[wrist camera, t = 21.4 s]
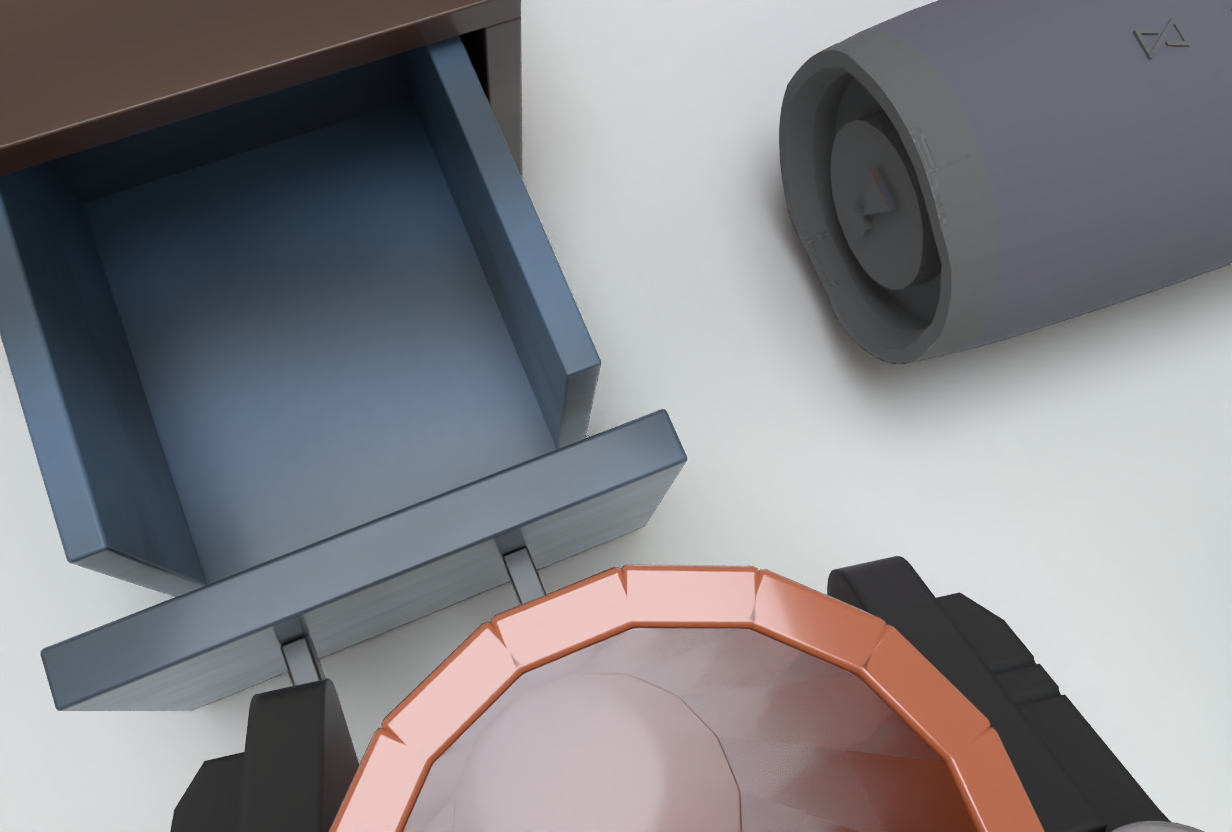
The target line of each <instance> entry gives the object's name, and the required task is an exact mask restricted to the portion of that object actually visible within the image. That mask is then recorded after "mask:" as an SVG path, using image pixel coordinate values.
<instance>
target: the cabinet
mask: <svg viewBox="0 0 1232 832" xmlns="http://www.w3.org/2000/svg"><path fill="white" fill-rule="evenodd" d="M458 35H460V38H461V40H462V42H463V44H464V47H465V49H466V51H467V54H468V56H469V58H470V61H471V63H472V65H473V68H474V70H475V72H476V74H477V77H478V79H479V81H480V84H481V86H482V88H483V91H484V93H485V95H486V98H487V100H488V102H489V104H490V107H491V109H492V111H493V114H494V116H495V118H496V121H497V123H498V125H499V127H500V130H501V132H502V134H503V137H504V139H505V141H506V144H507V146H508V148H509V151H510V153H511V155H512V157H513V160H514V162H515V164H516V167H517V169H518V171H519V174H520V176H521V178H522V82H521V0H0V176H2V175H5V174H8V173H12V172H15V171H18V170H22V169H25V168H28V167H31V166H35V165H38V164H41V163H44V162H48V161H51V160H54V159H57V158H61V157H64V156H67V155H70V154H74V153H77V152H80V151H83V150H87V149H90V148H93V147H96V146H100V145H103V144H106V143H110V142H113V141H116V140H119V139H123V138H126V137H129V136H132V135H136V134H139V133H142V132H145V131H149V130H152V129H155V128H158V127H162V126H165V125H168V124H171V123H175V122H178V121H181V120H185V119H188V118H191V117H194V116H198V115H201V114H204V113H207V112H211V111H214V110H217V109H220V108H224V107H227V106H230V105H233V104H237V103H240V102H243V101H246V100H250V99H253V98H256V97H259V96H263V95H266V94H269V93H273V92H276V91H279V90H282V89H286V88H289V87H292V86H295V85H299V84H302V83H305V82H308V81H312V80H315V79H318V78H321V77H325V76H328V75H331V74H334V73H338V72H341V71H344V70H347V69H351V68H354V67H357V66H361V65H364V64H367V63H370V62H374V61H377V60H380V59H383V58H387V57H390V56H393V55H396V54H400V53H403V52H406V51H409V50H413V49H416V48H419V47H422V46H426V45H429V44H432V43H435V42H439V41H442V40H445V39H449V38H452V37H455V36H458Z"/></svg>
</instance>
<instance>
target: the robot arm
mask: <svg viewBox="0 0 1232 832" xmlns="http://www.w3.org/2000/svg"><path fill="white" fill-rule="evenodd" d="M827 595H828V596H830V597H833V598H835V599H837V600H840V601H842V602H844V603H847V604H849V605H851V606H854V607H856V608H858V609H861V610H863V611H865V612H868V613H870V614H872V615H875V616H877V617H879V618H881V619H882V620H883V621H885V622H886V625H888V624H889V625H891V626H893V627H895V628H896V629H897V630H898V631H899V632H900V633H901V634H902V635H903V636H904V637H905V638H906V639H907V640H908V641H909V642H910V643H911V644H912V645H913V646H914V647H915V648H916V649H917V650H918V651H919V652H920V653H921V654H922V655H923V656H924V657H925V658H926V659H927V660H928V661H929V662H930V663H931V664H932V665H933V666H934V667H936V668H937V669H938V670H939V671H940V672H941V673H942V674H943V675H944V676H945V677H946V678H947V679H948V680H949V681H950V682H951V683H952V684H953V685H954V686H955V687H956V688H957V689H958V690H959V691H960V692H961V693H962V694H963V695H964V696H965V697H966V698H967V699H968V700H969V701H970V702H971V703H972V704H973V705H974V706H975V707H976V708H977V709H978V710H979V711H980V712H981V713H982V714H984V715H985V716H986V717H987V719H988V720H989V722H990V727H993V728H994V729H995V730H996V731H997V733H998V735H999V737H1000V739H1001V741H1002V743H1003V746H1004V748H1005V750H1006V752H1007V754H1008V756H1009V758H1010V760H1011V762H1012V764H1013V766H1014V769H1015V771H1016V773H1017V775H1018V777H1019V779H1020V781H1021V783H1022V785H1023V787H1024V789H1025V792H1026V794H1027V796H1028V798H1029V800H1030V802H1031V804H1032V806H1033V808H1034V810H1035V813H1036V815H1037V817H1038V819H1039V821H1040V823H1041V825H1042V827H1043V829H1044V831H1045V832H1204V831H1202V830H1199V829H1196V828H1194V827H1190V826H1186V825H1182V824H1179V823H1173V822H1171V821H1170V820H1169V819H1168V818H1167V817H1166V816H1165V815H1164V814H1163V813H1162V812H1161V811H1160V810H1159V809H1158V807H1157V806H1156V805H1155V804H1154V803H1153V801H1152V800H1151V799H1150V798H1149V796H1148V795H1147V794H1146V793H1145V792H1144V790H1143V789H1142V788H1141V787H1140V785H1139V784H1138V783H1137V782H1136V781H1135V779H1134V778H1133V777H1132V776H1131V774H1130V773H1129V772H1128V771H1127V770H1126V768H1125V767H1124V766H1123V765H1122V764H1121V762H1120V761H1119V760H1118V759H1117V757H1116V756H1115V755H1114V754H1113V753H1112V751H1111V750H1110V749H1109V748H1108V746H1107V745H1106V744H1105V743H1104V742H1103V740H1102V739H1101V738H1100V737H1099V735H1098V734H1097V733H1096V732H1095V731H1094V729H1093V728H1092V727H1091V726H1090V724H1089V723H1088V722H1087V721H1086V720H1085V718H1084V717H1083V716H1082V715H1081V714H1080V712H1079V711H1078V710H1077V709H1076V707H1075V706H1074V705H1073V704H1072V703H1071V701H1070V700H1069V699H1068V698H1067V696H1066V695H1061V694H1060V692H1059V687H1058V685H1057V684H1056V683H1055V682H1054V681H1053V679H1052V678H1051V677H1050V676H1049V674H1048V673H1047V672H1046V671H1045V670H1044V668H1043V667H1042V666H1041V665H1040V664H1037V665H1036V663H1035V661H1034V656H1033V655H1032V654H1031V653H1030V651H1029V650H1028V649H1027V648H1026V646H1025V645H1024V644H1023V643H1022V642H1021V640H1020V639H1019V638H1018V637H1017V635H1016V634H1015V633H1014V632H1013V631H1012V629H1011V628H1010V627H1009V626H1008V624H1007V623H1006V622H1005V621H1004V620H1003V619H1001V618H1000V617H998V616H997V615H995V614H993V613H992V612H990V611H989V610H987V609H985V608H984V607H982V606H981V605H979V604H977V603H976V602H974V601H973V600H971V599H969V598H968V597H966V596H964V595H963V594H961V593H956V594H951V595H947V596H942V597H938V598H935V596H934V595H933V594H932V592H931V591H930V590H929V588H928V587H927V586H926V584H925V583H924V582H923V580H922V579H921V578H920V577H919V575H918V574H917V573H916V571H915V570H914V569H913V567H912V566H911V565H910V564H909V562H908V561H907V560H905V559H904V558H903V557H900V556H895V557H890V558H886V559H881V560H876V561H872V562H867V563H863V564H858V565H853V566H849V567H844V568H840V569H835V570H833V571H831V573H830V575H829V578H828V586H827ZM358 767H359V763H358V760H357V756H356V753H355V750H354V747H353V743H352V740H351V737H350V734H349V731H348V727H347V724H346V721H345V718H344V714H343V711H342V708H341V705H340V701H339V698H338V695H337V692H336V689H335V687H334V684H333V682H332V681H331V680H330V679H324V680H319V681H315V682H310V683H306V684H301V685H296V686H292V687H287V688H283V689H278V690H273V691H269V692H264V693H260V694H255V695H254V696H253V698H252V700H251V703H250V709H249V718H248V727H247V735H246V744H245V752H243V753H238V754H234V755H229V756H225V757H221V758H216V759H212V760H207V761H204V763H203V764H202V766H201V768H200V769H199V771H198V772H197V774H196V776H195V777H194V779H193V781H192V782H191V784H190V785H189V787H188V789H187V790H186V792H185V793H184V795H183V797H182V798H181V800H180V801H179V803H178V805H177V806H176V808H175V809H174V814H173V820H172V826H171V831H170V832H329V829H330V827H331V825H332V823H333V821H334V819H335V817H336V814H337V812H338V810H339V808H340V806H341V804H342V801H343V799H344V797H345V795H346V793H347V791H348V788H349V786H350V784H351V782H352V780H353V778H354V775H355V773H356V771H357V769H358Z"/></svg>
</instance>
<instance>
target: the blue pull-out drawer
mask: <svg viewBox="0 0 1232 832" xmlns="http://www.w3.org/2000/svg"><path fill="white" fill-rule="evenodd" d="M0 335H1V338H2V342H3V345H4V348H5V352H6V355H7V359H8V362H9V365H10V369H11V372H12V375H13V379H14V382H15V386H16V389H17V392H18V396H19V399H20V403H21V406H22V409H23V413H24V416H25V419H26V423H27V426H28V430H29V433H30V436H31V440H32V443H33V447H34V450H35V453H36V457H37V460H38V463H39V467H40V470H41V474H42V477H43V480H44V484H45V487H46V491H47V494H48V497H49V501H50V504H51V507H52V511H53V514H54V518H55V521H56V524H57V528H58V531H59V535H60V538H61V541H62V545H63V548H64V551H65V555H66V558H67V561H68V562H69V563H72V564H75V565H78V566H81V567H84V568H87V569H91V570H94V571H97V572H100V573H103V574H106V575H109V576H112V577H115V578H119V579H122V580H125V581H128V582H131V583H134V584H137V585H140V586H143V587H146V588H150V589H153V590H156V591H159V592H162V593H165V594H168V595H171V596H174V597H175V598H173V599H170V600H168V601H165V602H162V603H160V604H157V605H155V606H152V607H149V608H147V609H144V610H142V611H139V612H137V613H134V614H131V615H129V616H126V617H124V618H121V619H118V620H116V621H113V622H111V623H108V624H106V625H103V626H100V627H98V628H95V629H93V630H90V631H87V632H85V633H82V634H80V635H77V636H75V637H72V638H69V639H67V640H64V641H62V642H59V643H56V644H54V645H51V646H49V647H46V648H44V649H43V650H42V651H41V657H42V661H43V664H44V668H45V671H46V675H47V679H48V682H49V686H50V689H51V693H52V696H53V700H54V703H55V707H56V709H57V710H58V711H191V710H195V709H197V708H200V707H202V706H205V705H207V704H210V703H212V702H214V701H217V700H219V699H222V698H224V697H227V696H229V695H232V694H234V693H237V692H239V691H241V690H244V689H246V688H249V687H251V686H254V685H256V684H259V683H261V682H264V681H266V680H268V679H271V678H273V677H276V676H278V675H281V674H283V673H286V672H288V673H289V676H290V679H291V682H292V685H293V686H296V685H301V684H306V683H310V682H315V681H319V680H324V679H326V678H325V675H324V672H323V670H322V667H321V664H320V661H319V659H320V658H322V657H325V656H327V655H330V654H332V653H335V652H337V651H340V650H342V649H345V648H347V647H349V646H352V645H354V644H357V643H359V642H362V641H364V640H367V639H369V638H372V637H374V636H376V635H379V634H381V633H384V632H386V631H389V630H391V629H394V628H396V627H399V626H401V625H403V624H406V623H408V622H411V621H413V620H416V619H418V618H421V617H423V616H426V615H428V614H430V613H433V612H435V611H438V610H440V609H443V608H445V607H448V606H450V605H453V604H455V603H457V602H460V601H462V600H465V599H467V598H470V597H472V596H475V595H477V594H480V593H482V592H484V591H487V590H489V589H492V588H494V587H497V586H499V585H502V584H504V583H507V582H509V581H511V583H512V586H513V588H514V591H515V594H516V596H517V599H518V601H519V604H520V605H522V604H524V603H527V602H529V601H532V600H534V599H537V598H539V597H541V596H544V595H546V592H545V589H544V587H543V584H542V582H541V579H540V577H539V574H538V572H537V570H538V569H541V568H543V567H546V566H548V565H551V564H553V563H556V562H558V561H561V560H563V559H565V558H568V557H570V556H573V555H575V554H578V553H580V552H583V551H585V550H588V549H590V548H592V547H595V546H597V545H600V544H602V543H605V542H607V541H610V540H612V539H615V538H617V537H619V536H622V535H624V534H627V533H629V532H632V531H634V530H637V529H639V528H642V527H644V526H645V525H646V523H647V522H648V520H649V519H650V517H651V516H652V514H653V513H654V511H655V509H656V508H657V506H658V505H659V503H660V502H661V500H662V499H663V497H664V495H665V494H666V492H667V491H668V489H669V488H670V486H671V485H672V483H673V481H674V480H675V478H676V477H677V475H678V474H679V472H680V471H681V469H682V467H683V466H684V464H685V463H686V461H687V456H686V454H685V451H684V449H683V447H682V445H681V442H680V440H679V438H678V436H677V433H676V431H675V429H674V427H673V424H672V422H671V420H670V418H669V415H668V413H667V411H666V410H665V409H661V410H658V411H656V412H653V413H651V414H648V415H645V416H643V417H640V418H638V419H635V420H633V421H630V422H627V423H625V424H622V425H620V426H617V427H614V428H612V429H609V430H607V431H604V432H602V433H599V434H596V435H594V436H591V437H589V438H586V439H585V436H586V431H587V427H588V422H589V417H590V413H591V408H592V403H593V399H594V394H595V389H596V385H597V380H598V375H599V371H600V366H601V360H600V358H599V356H598V353H597V351H596V349H595V347H594V344H593V342H592V340H591V337H590V335H589V333H588V330H587V328H586V326H585V323H584V321H583V319H582V317H581V314H580V312H579V310H578V307H577V305H576V303H575V300H574V298H573V296H572V293H571V291H570V289H569V287H568V284H567V282H566V280H565V277H564V275H563V273H562V270H561V268H560V266H559V264H558V261H557V259H556V257H555V254H554V252H553V250H552V247H551V245H550V243H549V240H548V238H547V236H546V234H545V231H544V229H543V227H542V224H541V222H540V220H539V217H538V215H537V213H536V210H535V208H534V206H533V204H532V201H531V199H530V197H529V194H528V192H527V190H526V187H525V185H524V183H523V181H522V178H521V176H520V174H519V171H518V169H517V167H516V164H515V162H514V160H513V157H512V155H511V153H510V151H509V148H508V146H507V144H506V141H505V139H504V137H503V134H502V132H501V130H500V127H499V125H498V123H497V121H496V118H495V116H494V114H493V111H492V109H491V107H490V104H489V102H488V100H487V98H486V95H485V93H484V91H483V88H482V86H481V84H480V81H479V79H478V77H477V74H476V72H475V70H474V68H473V65H472V63H471V61H470V58H469V56H468V54H467V51H466V49H465V47H464V44H463V42H462V40H461V38H460V35H458V36H455V37H452V38H449V39H445V40H442V41H439V42H435V43H432V44H429V45H426V46H422V47H419V48H416V49H413V50H409V51H406V52H403V53H400V54H396V55H393V56H390V57H387V58H383V59H380V60H377V61H374V62H370V63H367V64H364V65H361V66H357V67H354V68H351V69H347V70H344V71H341V72H338V73H334V74H331V75H328V76H325V77H321V78H318V79H315V80H312V81H308V82H305V83H302V84H299V85H295V86H292V87H289V88H286V89H282V90H279V91H276V92H273V93H269V94H266V95H263V96H259V97H256V98H253V99H250V100H246V101H243V102H240V103H237V104H233V105H230V106H227V107H224V108H220V109H217V110H214V111H211V112H207V113H204V114H201V115H198V116H194V117H191V118H188V119H185V120H181V121H178V122H175V123H171V124H168V125H165V126H162V127H158V128H155V129H152V130H149V131H145V132H142V133H139V134H136V135H132V136H129V137H126V138H123V139H119V140H116V141H113V142H110V143H106V144H103V145H100V146H96V147H93V148H90V149H87V150H83V151H80V152H77V153H74V154H70V155H67V156H64V157H61V158H57V159H54V160H51V161H48V162H44V163H41V164H38V165H35V166H31V167H28V168H25V169H22V170H18V171H15V172H12V173H8V174H5V175H2V176H0Z"/></svg>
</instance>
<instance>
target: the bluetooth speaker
mask: <svg viewBox="0 0 1232 832" xmlns="http://www.w3.org/2000/svg"><path fill="white" fill-rule="evenodd" d="M779 147H780V164H781V173H782V180H783V187H784V192H785V197H786V202H787V207H788V210H789V213H790V217H791V220H792V223H793V226H794V228H795V230H796V232H797V234H798V236H799V238H800V240H801V242H802V244H803V246H804V248H805V250H806V252H807V254H808V256H809V258H810V260H811V262H812V265H813V267H814V269H815V271H816V273H817V275H818V277H819V280H820V282H821V284H822V286H823V288H824V290H825V292H826V295H827V297H828V299H829V302H830V304H831V306H832V309H833V311H834V313H835V315H836V317H837V319H838V321H839V322H840V324H841V325H842V326H843V328H844V329H845V331H846V332H847V333H848V335H849V336H850V337H851V338H852V339H853V340H854V341H855V342H856V343H857V344H858V345H859V346H861V347H862V348H863V349H864V350H866V351H867V352H868V353H870V354H871V355H873V356H875V357H877V358H878V359H880V360H883V361H886V362H889V363H893V364H905V363H910V362H915V361H920V360H925V359H929V358H934V357H939V356H943V355H946V354H951V353H955V352H960V351H964V350H968V349H972V348H975V347H979V346H983V345H986V344H990V343H994V342H997V341H1001V340H1005V339H1008V338H1011V337H1014V336H1017V335H1020V334H1023V333H1026V332H1030V331H1033V330H1036V329H1039V328H1042V327H1045V326H1048V325H1051V324H1054V323H1057V322H1061V321H1064V320H1067V319H1070V318H1073V317H1076V316H1079V315H1082V314H1085V313H1088V312H1091V311H1094V310H1097V309H1100V308H1103V307H1106V306H1109V305H1113V304H1116V303H1119V302H1122V301H1125V300H1128V299H1131V298H1134V297H1137V296H1140V295H1143V294H1146V293H1149V292H1152V291H1155V290H1158V289H1160V288H1163V287H1166V286H1169V285H1172V284H1175V283H1177V282H1180V281H1183V280H1186V279H1189V278H1192V277H1195V276H1197V275H1200V274H1203V273H1206V272H1209V271H1212V270H1214V269H1217V268H1220V267H1223V266H1225V265H1228V264H1231V263H1232V0H939V1H936V2H933V3H930V4H927V5H925V6H922V7H919V8H916V9H914V10H911V11H909V12H906V13H904V14H901V15H899V16H897V17H894V18H892V19H890V20H887V21H885V22H883V23H880V24H878V25H875V26H873V27H871V28H868V29H866V30H864V31H861V32H859V33H857V34H855V35H854V36H852V37H850V38H848V39H846V40H844V41H842V42H840V43H837V44H835V45H833V46H831V47H829V48H827V49H825V50H823V51H821V52H819V53H818V54H816V55H814V56H812V57H811V58H810V59H809V60H807V61H806V62H805V63H804V64H803V65H802V66H801V68H800V69H799V70H798V71H797V72H796V74H795V75H794V76H793V78H792V79H791V81H790V82H789V84H788V85H787V89H786V92H785V95H784V99H783V103H782V108H781V116H780V127H779Z"/></svg>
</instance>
